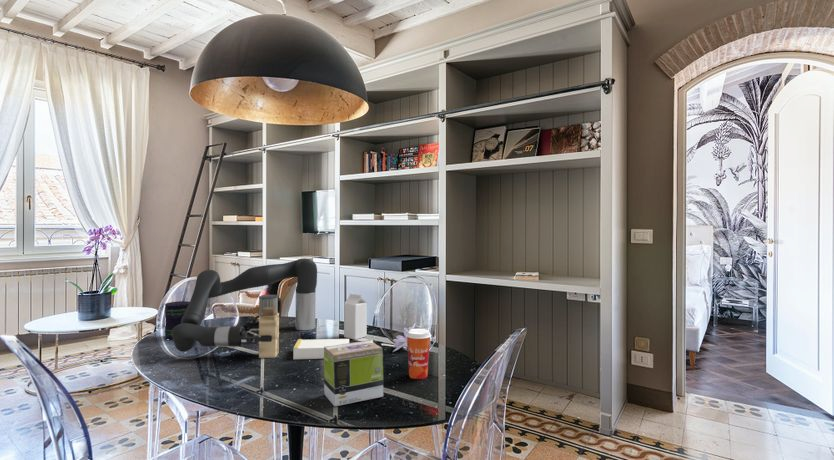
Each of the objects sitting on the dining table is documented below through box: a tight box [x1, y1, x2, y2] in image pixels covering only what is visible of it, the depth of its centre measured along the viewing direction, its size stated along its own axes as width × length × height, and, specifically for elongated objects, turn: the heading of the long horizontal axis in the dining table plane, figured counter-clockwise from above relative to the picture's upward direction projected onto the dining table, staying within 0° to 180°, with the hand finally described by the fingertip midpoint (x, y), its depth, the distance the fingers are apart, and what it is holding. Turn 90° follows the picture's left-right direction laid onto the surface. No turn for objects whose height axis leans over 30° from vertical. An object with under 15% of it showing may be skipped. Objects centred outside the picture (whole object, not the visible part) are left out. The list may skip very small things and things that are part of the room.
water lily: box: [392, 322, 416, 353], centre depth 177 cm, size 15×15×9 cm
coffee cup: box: [406, 328, 432, 380], centre depth 146 cm, size 8×8×15 cm
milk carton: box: [343, 293, 368, 340], centre depth 195 cm, size 7×7×19 cm
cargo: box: [262, 307, 276, 316], centre depth 168 cm, size 4×4×4 cm
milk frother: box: [248, 294, 282, 325], centre depth 216 cm, size 14×16×15 cm
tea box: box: [323, 340, 384, 407], centre depth 129 cm, size 15×10×15 cm
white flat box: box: [292, 338, 350, 360], centre depth 170 cm, size 12×20×4 cm, turn 97°
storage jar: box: [164, 300, 190, 341], centre depth 192 cm, size 10×10×15 cm
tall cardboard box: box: [258, 313, 280, 359], centre depth 168 cm, size 6×6×16 cm
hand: (274, 335), depth 168 cm, fingers open, 8 cm apart
